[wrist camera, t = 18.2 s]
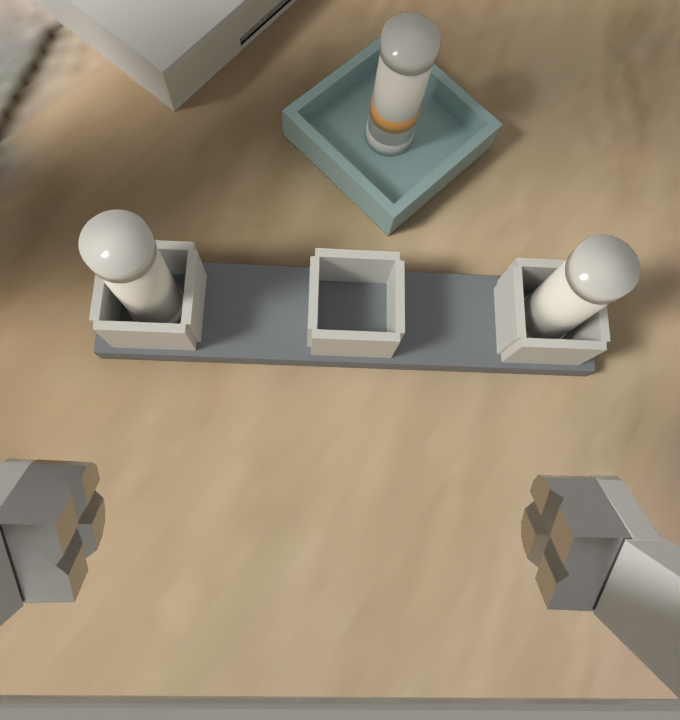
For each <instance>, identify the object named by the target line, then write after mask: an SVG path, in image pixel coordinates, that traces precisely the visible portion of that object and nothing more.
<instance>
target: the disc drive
mask: <svg viewBox="0 0 680 720" xmlns="http://www.w3.org/2000/svg"><path fill="white" fill-rule="evenodd" d="M31 1H32V2H34V3H35V4H36V5H38V6H39V7H40V8H41V9H43V10H44V11H45V12H47V13H48V14H49V15H50V16H52V17H53V18H54V19H56V20H57V21H58V22H60V23H61V24H62V25H63V26H65V27H66V28H67V29H69V30H70V31H71V32H72V33H74V34H75V35H76V36H78V37H79V38H80V39H81V40H83V41H84V42H85V43H87V44H88V45H89V46H90V47H92V48H93V49H94V50H96V51H97V52H98V53H99V54H101V55H102V56H103V57H105V58H106V59H107V60H109V61H110V62H111V63H112V64H114V65H115V66H116V67H118V68H119V69H120V70H121V71H123V72H124V73H125V74H127V75H128V76H129V77H130V78H132V79H133V80H134V81H136V82H137V83H138V84H139V85H141V86H142V87H143V88H145V89H146V90H147V91H149V92H150V93H151V94H152V95H154V96H155V97H156V98H158V99H159V100H160V101H161V102H163V103H164V104H165V105H167V106H168V107H169V108H170V109H172V110H173V111H174V112H175V111H176V110H177V109H178V108H179V107H180V106H181V105H182V104H183V103H185V102H186V101H187V100H188V99H189V98H190V97H191V96H192V95H193V94H194V93H196V92H197V91H198V90H199V89H200V88H201V87H202V86H203V85H204V84H205V83H206V82H208V81H209V80H210V79H211V78H212V77H213V76H214V75H215V74H216V73H217V72H219V71H220V70H221V69H222V68H223V67H224V66H225V65H226V64H227V63H228V62H230V61H231V60H232V59H233V58H234V57H235V56H236V55H237V54H238V53H239V52H241V51H242V50H243V49H244V48H245V47H246V46H247V45H248V44H249V43H250V42H252V41H253V40H254V39H255V38H256V37H257V36H258V35H259V34H260V33H261V32H263V31H264V30H265V29H266V28H267V27H268V26H269V25H270V24H271V23H272V22H274V21H275V20H276V19H277V18H278V17H279V16H280V15H281V14H282V13H283V12H285V11H286V10H287V9H288V8H289V7H290V6H291V5H292V4H293V3H294V2H296V1H297V0H31Z"/></svg>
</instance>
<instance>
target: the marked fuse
mask: <svg viewBox="0 0 680 720" xmlns="http://www.w3.org/2000/svg"><path fill="white" fill-rule="evenodd" d="M440 45H441V34H440V31H439V29H438V27H437V26H436V25H435V23H434V22H433V21H432V20H430V19H429V18H427V17H426V16H423V15H421V14H418V13H412V12H406V13H400V14H397V15H395V16H393V17H391V18H390V19H389V20H388V21H387V22H386V23H385V25H384V27H383V30H382V35H381V41H380V47H379V52H380V56H379V61H378V67H377V73H376V79H375V85H374V90H373V94H372V97H371V103H370V110H369V112H370V114H369V117H368V119H367V124H366V130H365V139H366V142H367V144H368V146H369V147H370V148H371V149H372V150H373V151H374V152H376V153H377V154H379V155H382V156H387V157H393V156H398V155H401V154H402V153H404V152H405V151H406V150H407V149H408V148H409V147H410V145H411V142H412V139H413V136H414V132H415V124H416V122H417V120H418V117H419V114H420V110H421V106H422V100H423V97H424V94H425V90H426V87H427V83H428V80H429V77H430V73H431V70H432V66H433V65H434V63H435V61H436V58H437V55H438V52H439V48H440Z"/></svg>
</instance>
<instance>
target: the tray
mask: <svg viewBox="0 0 680 720" xmlns="http://www.w3.org/2000/svg"><path fill="white" fill-rule="evenodd" d="M380 41H381V36H380V37H379V38H378V39H376V40H375V41H374V42H372V43H371V44H370V45H368V46H367V47H366V48H364V49H363V50H362V51H360V52H359V53H358V54H356V55H355V56H354V57H352V58H351V59H350V60H348V61H347V62H346V63H344V64H343V65H342V66H340V67H339V68H338V69H336V70H335V71H334V72H332V73H331V74H330V75H328V76H327V77H326V78H324V79H323V80H322V81H320V82H319V83H318V84H317V85H315V86H314V87H313V88H311V89H310V90H309V91H307V92H306V93H305V94H303V95H302V96H301V97H299V98H298V99H297V100H295V101H294V102H293V103H291V104H290V105H289V106H287V107H286V108H285V109H283V110H282V126H283V135H284V136H285V137H286V138H287V139H288V140H289V141H290V142H292V143H293V144H294V145H295V146H296V147H297V148H298V149H299V150H300V151H301V152H302V153H303V154H304V155H305V156H306V157H307V158H308V159H309V160H310V161H311V162H312V163H313V164H314V165H315V166H316V167H317V168H318V169H319V170H320V171H322V172H323V173H324V174H325V175H326V176H327V177H328V178H329V179H330V180H331V181H332V182H333V183H334V184H335V185H336V186H337V187H338V188H339V189H340V190H341V191H342V192H343V193H344V194H345V195H346V196H347V197H348V198H349V199H350V200H351V201H353V202H354V203H355V204H356V205H357V206H358V207H359V208H360V209H361V210H362V211H363V212H364V213H365V214H366V215H367V216H368V217H369V218H370V219H371V220H372V221H373V222H374V223H375V224H376V225H377V226H378V227H379V228H380V229H381V230H383V231H384V232H385V233H386V234H387V235H388V236H389V235H390V234H391V233H392V232H393V231H394V230H396V229H397V228H398V227H399V226H400V225H401V224H403V223H404V222H405V221H406V220H407V219H408V218H409V217H411V216H412V215H413V214H414V213H415V212H416V211H418V210H419V209H420V208H421V207H422V206H423V205H424V204H426V203H427V202H428V201H429V200H430V199H431V198H433V197H434V196H435V195H436V194H437V193H438V192H440V191H441V190H442V189H443V188H444V187H445V186H446V185H448V184H449V183H450V182H451V181H452V180H453V179H455V178H456V177H457V176H458V175H459V174H460V173H461V172H463V171H464V170H465V169H466V168H467V167H468V166H470V165H471V164H472V163H473V162H474V161H475V160H476V159H478V158H479V157H480V156H481V155H482V154H483V153H485V152H486V151H487V150H488V149H489V148H490V147H491V146H492V144H493V142H494V140H495V138H496V137H497V135H498V133H499V131H500V129H501V127H502V125H503V124H502V123H501V122H499V121H498V120H497V119H496V118H495V117H494V116H493V115H492V114H490V113H489V112H488V111H487V110H486V109H485V108H484V107H483V106H482V105H480V104H479V103H478V102H477V101H476V100H475V99H474V98H473V97H471V96H470V95H469V94H468V93H467V92H466V91H465V90H464V89H462V88H461V87H460V86H459V85H458V84H457V83H456V82H455V81H454V80H452V79H451V78H450V77H449V76H448V75H447V74H446V73H445V72H443V71H442V70H441V69H440V68H439V67H438V66H437V65H436V64H434V65H433V66H432V70H431V73H430V77H429V80H428V83H427V87H426V90H425V94H424V97H423V100H422V106H421V110H420V114H419V117H418V120H417V122H416V124H415V132H414V136H413V139H412V142H411V145H410V147H409V148H408V149H407V150H406V151H405V152H404V153H402V154H401V155H398V156H393V157H387V156H382V155H379V154H377V153H376V152H374V151H373V150H372V149H371V148H370V147H369V146H368V144H367V142H366V139H365V130H366V124H367V119H368V117H369V114H370V112H369V110H370V103H371V97H372V94H373V90H374V85H375V79H376V73H377V67H378V61H379V56H380V52H379V47H380Z"/></svg>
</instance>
